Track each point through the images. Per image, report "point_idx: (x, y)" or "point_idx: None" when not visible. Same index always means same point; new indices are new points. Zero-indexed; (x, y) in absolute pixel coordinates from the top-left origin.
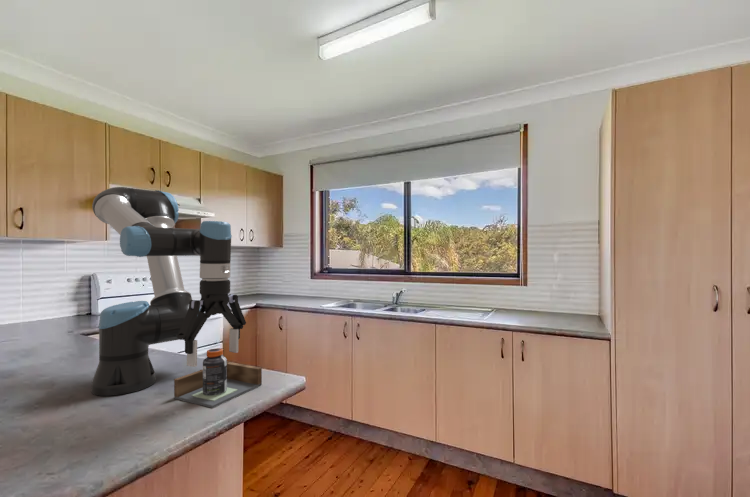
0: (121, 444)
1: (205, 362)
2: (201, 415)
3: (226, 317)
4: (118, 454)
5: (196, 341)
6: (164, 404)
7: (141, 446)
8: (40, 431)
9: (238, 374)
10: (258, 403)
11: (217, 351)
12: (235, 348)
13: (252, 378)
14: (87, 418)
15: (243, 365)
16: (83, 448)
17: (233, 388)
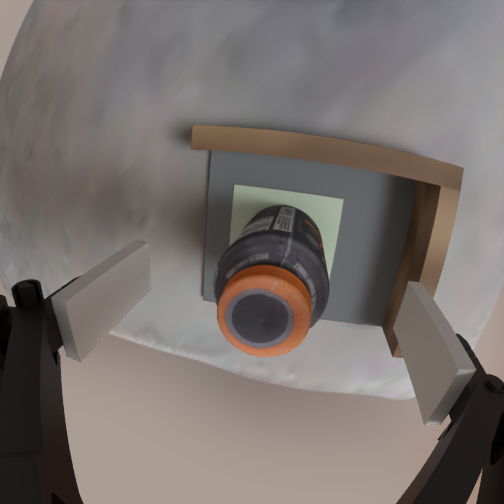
0: (42, 239)
1: (213, 281)
2: (164, 297)
3: (415, 491)
4: (33, 263)
5: (78, 357)
6: (172, 142)
7: (53, 277)
8: (27, 57)
9: (412, 252)
10: (271, 379)
11: (242, 350)
12: (400, 336)
13: (392, 314)
14: (69, 60)
15: (429, 282)
16: (18, 192)
17: (335, 275)
